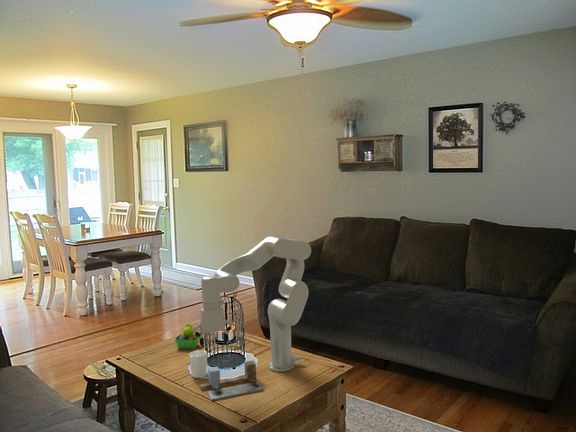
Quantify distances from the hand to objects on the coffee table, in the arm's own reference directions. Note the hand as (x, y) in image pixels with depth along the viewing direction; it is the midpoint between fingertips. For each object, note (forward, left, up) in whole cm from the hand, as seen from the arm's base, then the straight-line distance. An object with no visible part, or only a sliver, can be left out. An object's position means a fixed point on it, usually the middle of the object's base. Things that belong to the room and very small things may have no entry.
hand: (213, 344), depth 201 cm
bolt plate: (-6, +9, -18) cm, 21 cm away
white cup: (+5, -14, -19) cm, 23 cm away
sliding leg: (+1, +1, -18) cm, 18 cm away
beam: (-5, +1, -18) cm, 19 cm away
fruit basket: (+4, -50, -19) cm, 53 cm away
